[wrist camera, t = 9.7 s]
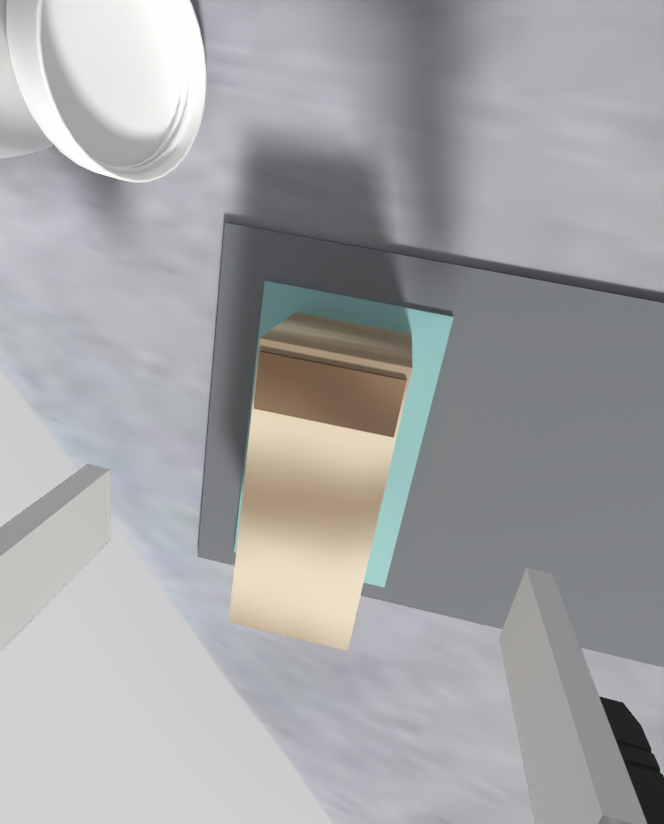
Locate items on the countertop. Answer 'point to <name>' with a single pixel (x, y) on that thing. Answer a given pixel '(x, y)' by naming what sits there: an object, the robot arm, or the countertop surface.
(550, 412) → the rubber mat
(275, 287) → the pad
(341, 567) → the birch block
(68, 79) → the spread jar
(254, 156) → the countertop surface
